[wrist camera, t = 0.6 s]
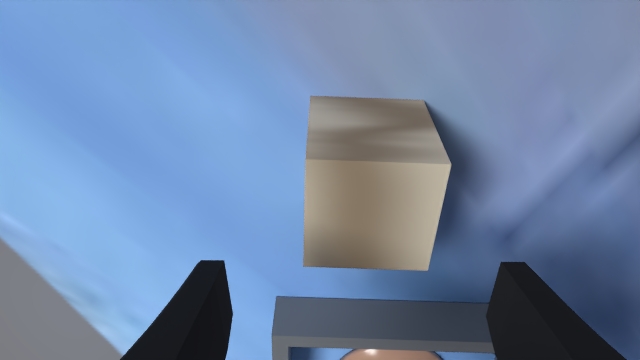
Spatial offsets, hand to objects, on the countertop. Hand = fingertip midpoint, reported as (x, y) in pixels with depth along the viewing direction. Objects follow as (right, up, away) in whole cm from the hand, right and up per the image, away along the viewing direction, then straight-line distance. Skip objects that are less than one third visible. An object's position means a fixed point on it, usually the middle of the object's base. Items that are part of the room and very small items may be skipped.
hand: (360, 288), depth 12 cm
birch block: (+1, +4, +7) cm, 9 cm away
